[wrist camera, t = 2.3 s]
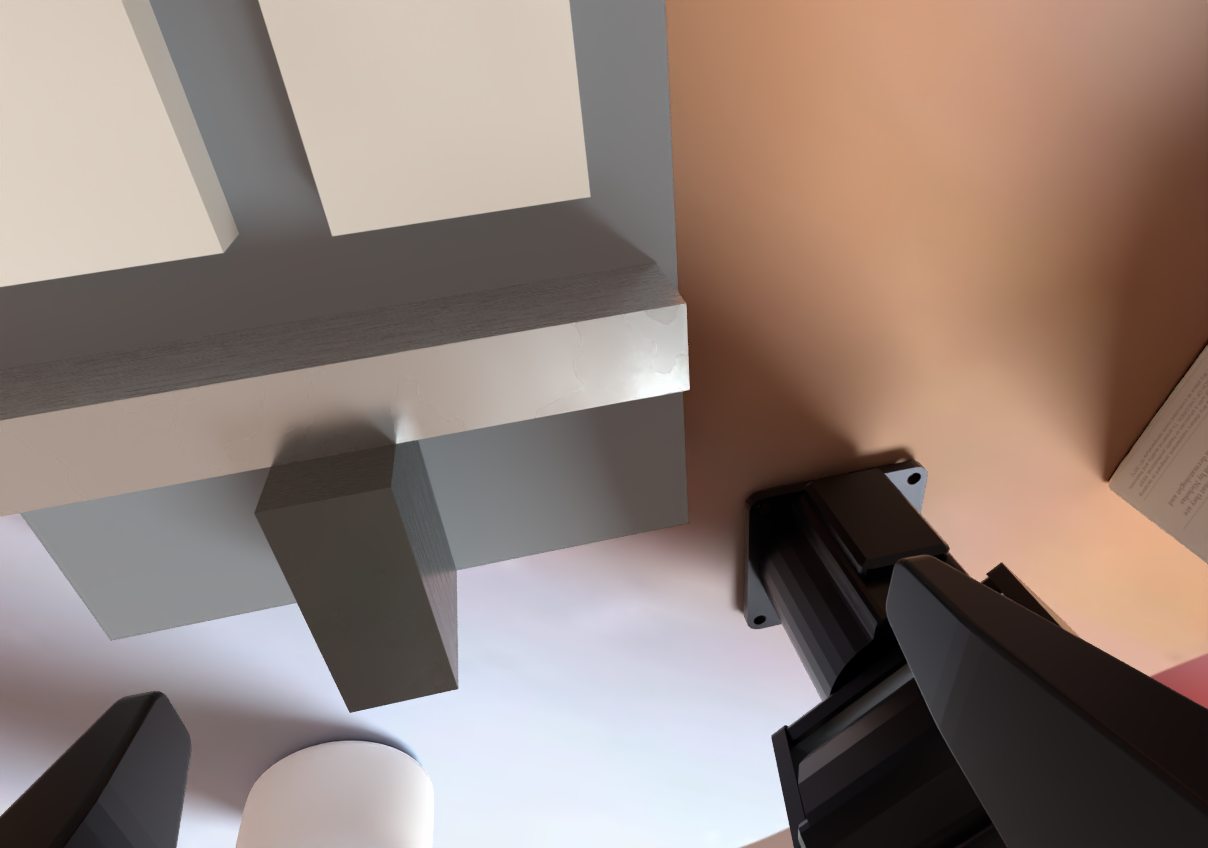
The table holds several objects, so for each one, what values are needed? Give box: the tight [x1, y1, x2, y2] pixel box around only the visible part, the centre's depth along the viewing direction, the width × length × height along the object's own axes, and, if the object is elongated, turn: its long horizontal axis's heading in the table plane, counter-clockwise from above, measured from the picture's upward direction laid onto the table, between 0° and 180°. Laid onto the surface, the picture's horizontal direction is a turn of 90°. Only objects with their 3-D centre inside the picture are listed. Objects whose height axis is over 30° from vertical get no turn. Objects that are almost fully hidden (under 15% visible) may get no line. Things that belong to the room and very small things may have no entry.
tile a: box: [258, 0, 591, 236], centre depth 13 cm, size 5×5×1 cm
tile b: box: [0, 0, 239, 287], centre depth 12 cm, size 5×5×1 cm
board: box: [0, 0, 689, 640], centre depth 17 cm, size 16×16×3 cm
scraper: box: [0, 262, 690, 713], centre depth 16 cm, size 8×15×4 cm, turn 96°
